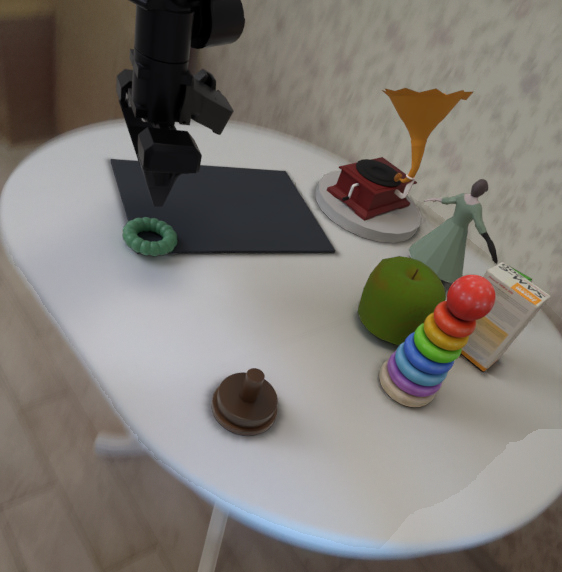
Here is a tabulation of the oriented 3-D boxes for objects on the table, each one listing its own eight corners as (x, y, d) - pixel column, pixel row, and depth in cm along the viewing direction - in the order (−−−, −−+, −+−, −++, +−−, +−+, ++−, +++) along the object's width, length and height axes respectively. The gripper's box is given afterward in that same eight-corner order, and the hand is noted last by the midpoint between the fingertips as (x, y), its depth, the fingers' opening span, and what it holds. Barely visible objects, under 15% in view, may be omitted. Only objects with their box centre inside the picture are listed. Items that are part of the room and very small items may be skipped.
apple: (430, 355, 74) (470, 299, 66) (364, 352, 71) (397, 293, 63) (404, 302, 81) (438, 246, 73) (342, 297, 78) (370, 238, 70)
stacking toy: (365, 381, 67) (434, 269, 54) (395, 354, 72) (465, 246, 59) (414, 420, 65) (498, 313, 51) (441, 390, 70) (524, 285, 56)
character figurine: (479, 300, 87) (547, 208, 74) (454, 315, 82) (522, 219, 69) (411, 245, 93) (462, 151, 80) (383, 256, 88) (433, 157, 75)
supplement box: (497, 360, 78) (553, 296, 68) (482, 373, 75) (539, 307, 65) (455, 326, 80) (503, 259, 71) (439, 337, 78) (487, 269, 68)
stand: (221, 440, 55) (232, 408, 51) (203, 386, 60) (212, 351, 55) (285, 430, 59) (300, 398, 54) (263, 379, 63) (276, 346, 58)
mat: (137, 253, 72) (137, 251, 71) (110, 161, 85) (110, 158, 84) (334, 253, 85) (335, 250, 84) (285, 173, 98) (285, 170, 98)
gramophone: (436, 228, 100) (512, 96, 81) (371, 253, 88) (444, 105, 69) (362, 172, 107) (416, 39, 89) (293, 188, 95) (340, 38, 77)
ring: (126, 259, 69) (127, 247, 68) (117, 225, 74) (118, 213, 72) (182, 258, 73) (183, 247, 71) (170, 226, 77) (171, 214, 75)
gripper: (259, 102, 53) (230, 230, 64) (211, 31, 63) (193, 152, 74) (150, 88, 48) (139, 229, 59) (117, 13, 58) (113, 145, 70)
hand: (150, 185), depth 66 cm, fingers open, 9 cm apart
